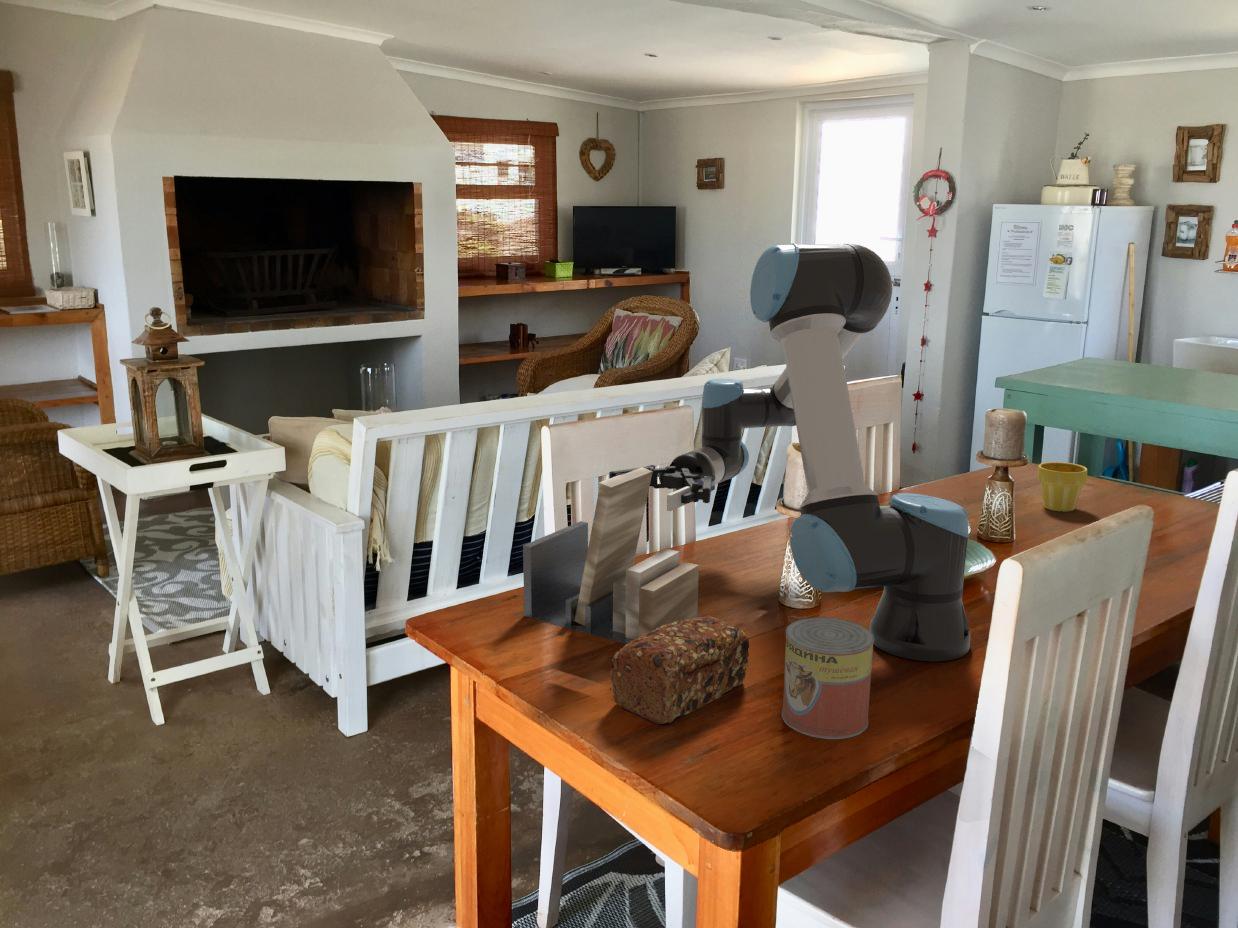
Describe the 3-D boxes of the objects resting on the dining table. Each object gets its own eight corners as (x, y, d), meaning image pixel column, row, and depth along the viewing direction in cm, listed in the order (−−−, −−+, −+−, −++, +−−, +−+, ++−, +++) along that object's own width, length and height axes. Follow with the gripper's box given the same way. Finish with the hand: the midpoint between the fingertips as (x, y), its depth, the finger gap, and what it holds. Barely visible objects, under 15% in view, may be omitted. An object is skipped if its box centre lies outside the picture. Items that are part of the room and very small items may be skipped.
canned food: (764, 712, 135) (767, 629, 132) (823, 690, 141) (827, 610, 138) (826, 748, 126) (831, 659, 123) (886, 723, 132) (892, 638, 129)
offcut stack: (697, 617, 163) (699, 553, 160) (652, 647, 151) (653, 578, 149) (652, 606, 167) (653, 543, 165) (605, 634, 156) (605, 567, 153)
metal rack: (707, 625, 163) (709, 546, 160) (656, 660, 150) (657, 575, 147) (581, 594, 177) (580, 521, 173) (524, 624, 164) (522, 545, 160)
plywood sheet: (625, 602, 169) (652, 471, 161) (584, 626, 159) (611, 487, 151) (615, 598, 170) (642, 467, 162) (574, 621, 160) (600, 482, 152)
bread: (665, 731, 130) (666, 659, 128) (606, 704, 137) (606, 636, 135) (751, 684, 143) (754, 619, 141) (693, 662, 150) (695, 599, 148)
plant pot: (1026, 507, 232) (1030, 466, 230) (1046, 499, 239) (1050, 459, 236) (1071, 517, 224) (1075, 474, 222) (1090, 508, 231) (1095, 467, 229)
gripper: (756, 501, 180) (698, 530, 163) (638, 481, 193) (573, 506, 176) (757, 460, 178) (699, 485, 161) (638, 443, 191) (573, 464, 174)
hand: (633, 496), depth 168 cm, fingers open, 13 cm apart
